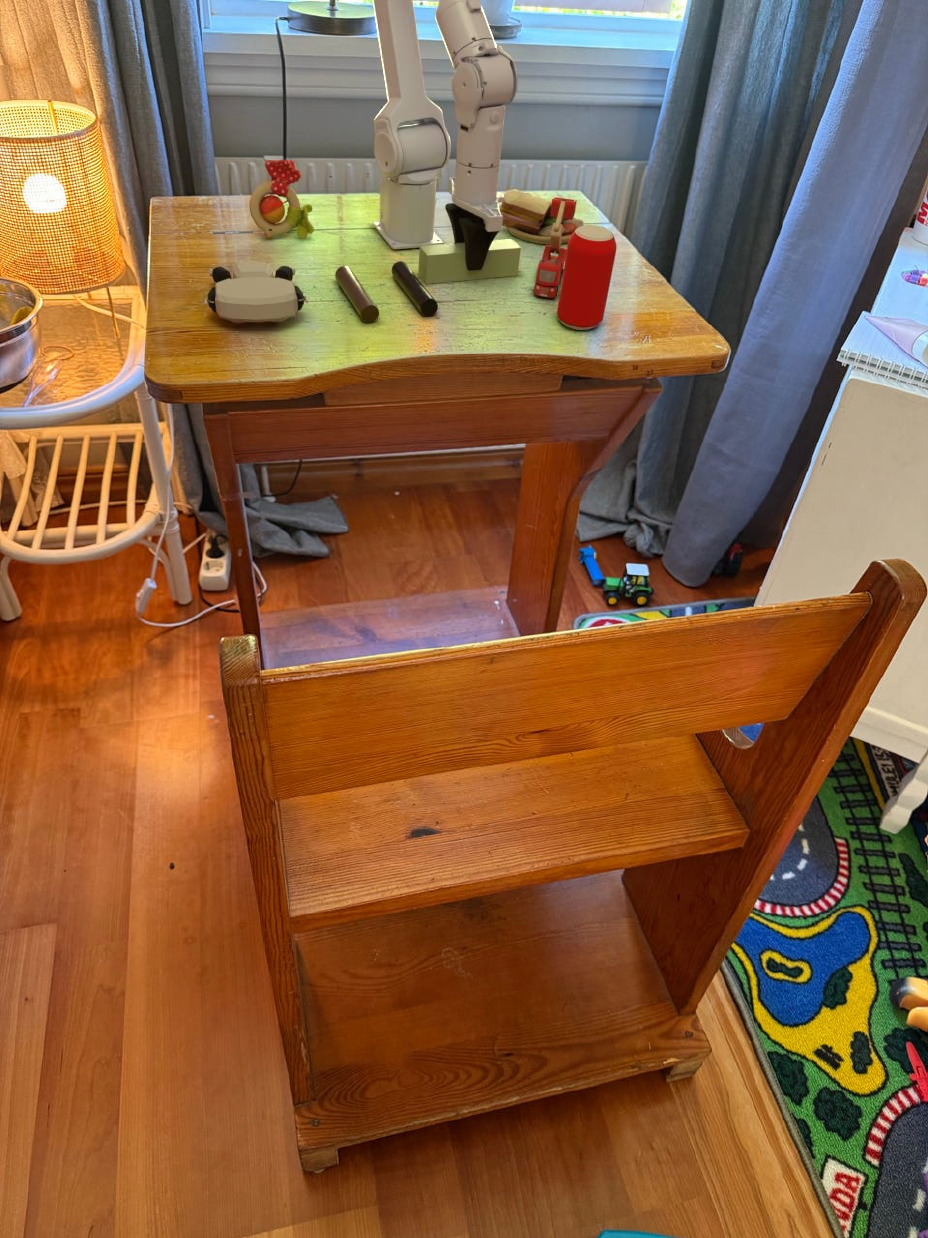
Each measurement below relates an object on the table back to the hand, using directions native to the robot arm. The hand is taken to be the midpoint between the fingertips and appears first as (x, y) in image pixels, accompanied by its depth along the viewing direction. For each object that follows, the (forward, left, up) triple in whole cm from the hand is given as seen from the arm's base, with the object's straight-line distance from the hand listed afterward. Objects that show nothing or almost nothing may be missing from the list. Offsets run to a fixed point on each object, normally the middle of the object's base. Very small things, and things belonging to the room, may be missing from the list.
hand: (469, 263), depth 129 cm
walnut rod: (+5, -18, -2) cm, 19 cm away
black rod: (+5, -10, -2) cm, 11 cm away
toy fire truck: (+4, +11, -2) cm, 12 cm away
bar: (0, 0, -2) cm, 2 cm away
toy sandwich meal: (-13, +17, -2) cm, 21 cm away
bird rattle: (-18, -22, -2) cm, 28 cm away
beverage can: (+17, +9, -2) cm, 19 cm away
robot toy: (+4, -31, -2) cm, 31 cm away
